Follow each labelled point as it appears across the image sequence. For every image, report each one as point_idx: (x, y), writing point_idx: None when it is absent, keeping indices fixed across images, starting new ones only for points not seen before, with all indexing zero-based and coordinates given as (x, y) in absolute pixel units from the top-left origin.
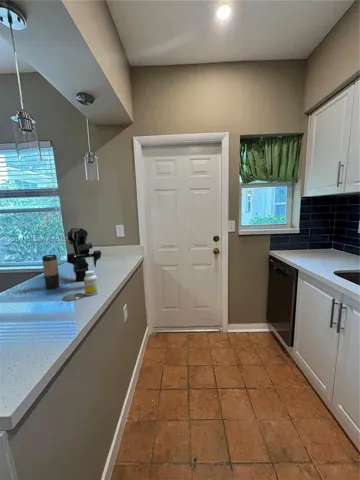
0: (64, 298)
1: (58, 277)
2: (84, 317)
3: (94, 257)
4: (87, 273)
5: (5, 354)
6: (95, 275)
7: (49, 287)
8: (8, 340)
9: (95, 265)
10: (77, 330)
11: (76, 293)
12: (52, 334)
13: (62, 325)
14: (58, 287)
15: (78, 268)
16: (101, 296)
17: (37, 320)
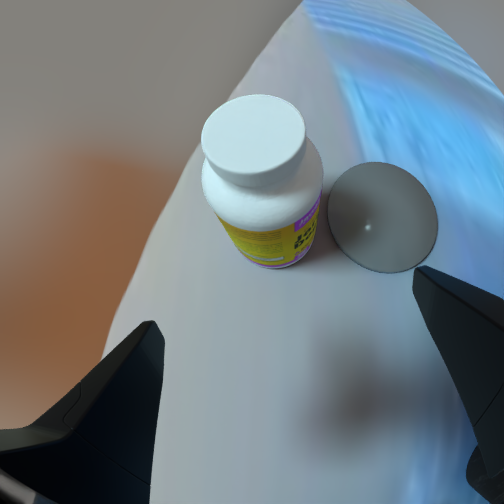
0: (424, 200)
1: (499, 484)
2: (295, 32)
3: (54, 438)
4: (280, 102)
5: (408, 2)
6: (207, 166)
7: None
8: (435, 27)
9: (142, 327)
10: (304, 4)
11: (374, 261)
12: (355, 8)
13: (347, 22)
14: (471, 455)
15: (423, 266)
16: None
17: (432, 66)
